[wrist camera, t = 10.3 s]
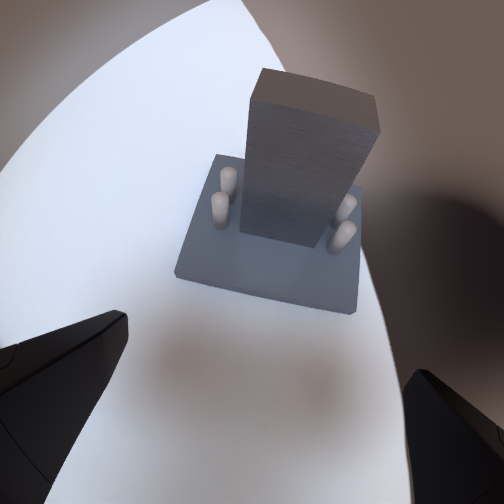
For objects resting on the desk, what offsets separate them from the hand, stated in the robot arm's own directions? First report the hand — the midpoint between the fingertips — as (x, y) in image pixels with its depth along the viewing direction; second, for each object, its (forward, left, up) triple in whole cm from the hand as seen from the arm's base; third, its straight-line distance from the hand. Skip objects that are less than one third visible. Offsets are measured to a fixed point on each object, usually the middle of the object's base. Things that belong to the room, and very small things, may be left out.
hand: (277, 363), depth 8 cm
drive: (+12, +1, -12) cm, 17 cm away
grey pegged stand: (+12, +1, -13) cm, 18 cm away
